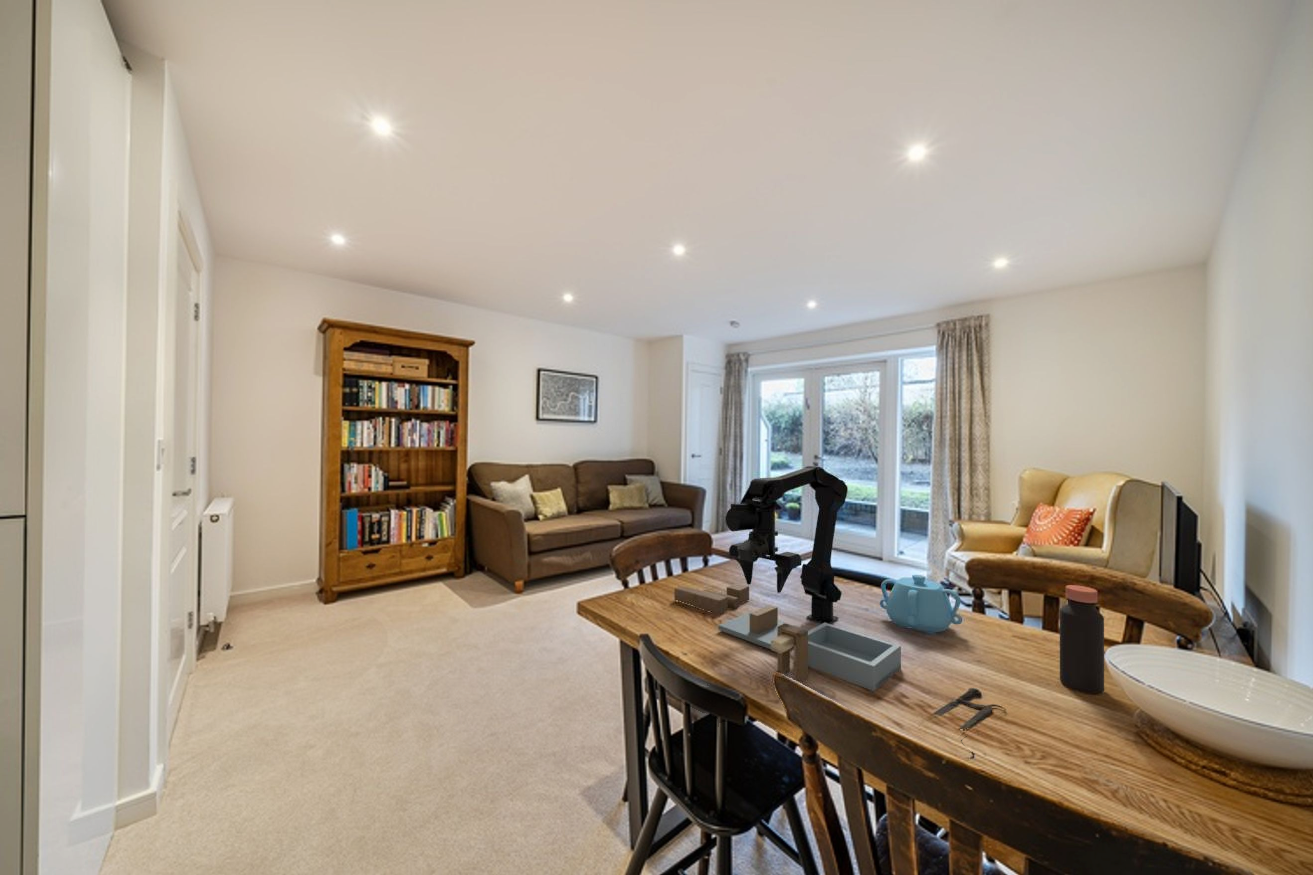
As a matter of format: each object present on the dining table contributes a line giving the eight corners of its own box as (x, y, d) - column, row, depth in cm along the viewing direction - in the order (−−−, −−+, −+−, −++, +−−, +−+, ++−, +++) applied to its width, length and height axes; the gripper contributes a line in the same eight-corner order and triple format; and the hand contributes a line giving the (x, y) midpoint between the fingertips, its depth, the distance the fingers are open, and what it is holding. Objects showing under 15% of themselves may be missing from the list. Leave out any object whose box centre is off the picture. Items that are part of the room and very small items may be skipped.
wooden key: (796, 636, 106) (796, 627, 106) (806, 639, 104) (806, 630, 104) (770, 649, 99) (770, 640, 99) (780, 653, 98) (780, 643, 98)
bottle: (1069, 675, 102) (1069, 581, 102) (1110, 690, 96) (1110, 590, 96) (1053, 682, 99) (1052, 586, 99) (1094, 698, 93) (1094, 595, 93)
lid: (751, 619, 135) (751, 595, 135) (810, 639, 121) (810, 612, 121) (718, 633, 125) (718, 607, 125) (779, 656, 112) (779, 627, 112)
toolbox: (824, 642, 118) (824, 603, 118) (900, 668, 105) (900, 624, 105) (776, 670, 104) (776, 626, 104) (858, 704, 91) (858, 653, 91)
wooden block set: (721, 597, 136) (673, 584, 148) (721, 617, 137) (673, 602, 149) (752, 583, 149) (705, 572, 161) (752, 601, 149) (705, 589, 161)
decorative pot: (933, 615, 137) (933, 567, 137) (968, 638, 121) (968, 584, 121) (876, 614, 138) (875, 567, 138) (902, 637, 122) (902, 584, 122)
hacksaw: (971, 692, 96) (971, 684, 96) (1033, 717, 87) (1033, 709, 87) (903, 731, 83) (903, 722, 83) (967, 765, 75) (967, 755, 75)
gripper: (715, 526, 125) (715, 586, 125) (777, 537, 111) (777, 604, 111) (741, 521, 132) (741, 578, 132) (802, 531, 118) (802, 594, 118)
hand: (763, 588), depth 123 cm, fingers open, 9 cm apart
